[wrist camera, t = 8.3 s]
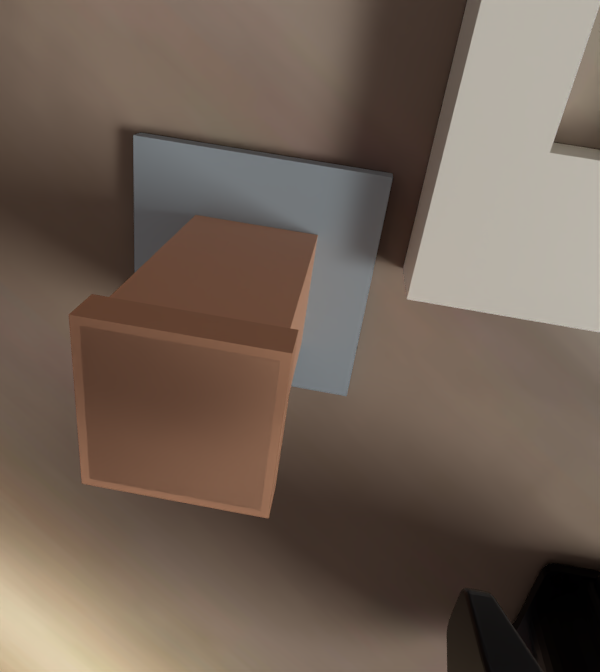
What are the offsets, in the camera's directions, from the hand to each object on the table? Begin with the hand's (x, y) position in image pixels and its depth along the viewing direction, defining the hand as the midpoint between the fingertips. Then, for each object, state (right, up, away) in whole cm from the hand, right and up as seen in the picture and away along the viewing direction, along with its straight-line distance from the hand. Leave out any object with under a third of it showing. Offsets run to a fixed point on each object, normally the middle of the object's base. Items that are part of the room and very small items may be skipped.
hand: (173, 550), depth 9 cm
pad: (0, +6, +11) cm, 12 cm away
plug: (0, +5, +10) cm, 11 cm away
